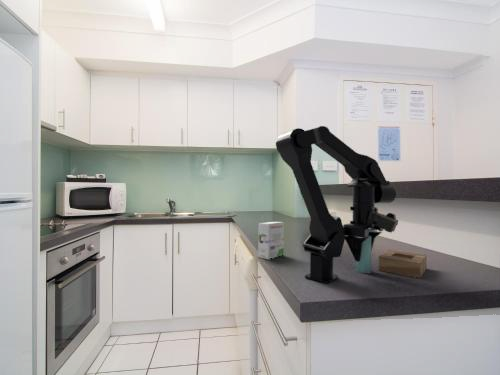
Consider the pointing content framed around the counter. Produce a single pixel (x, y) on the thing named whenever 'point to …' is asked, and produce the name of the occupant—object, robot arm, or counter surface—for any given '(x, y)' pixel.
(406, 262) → the socket block
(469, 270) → the counter surface
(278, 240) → the ink box
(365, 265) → the peg
